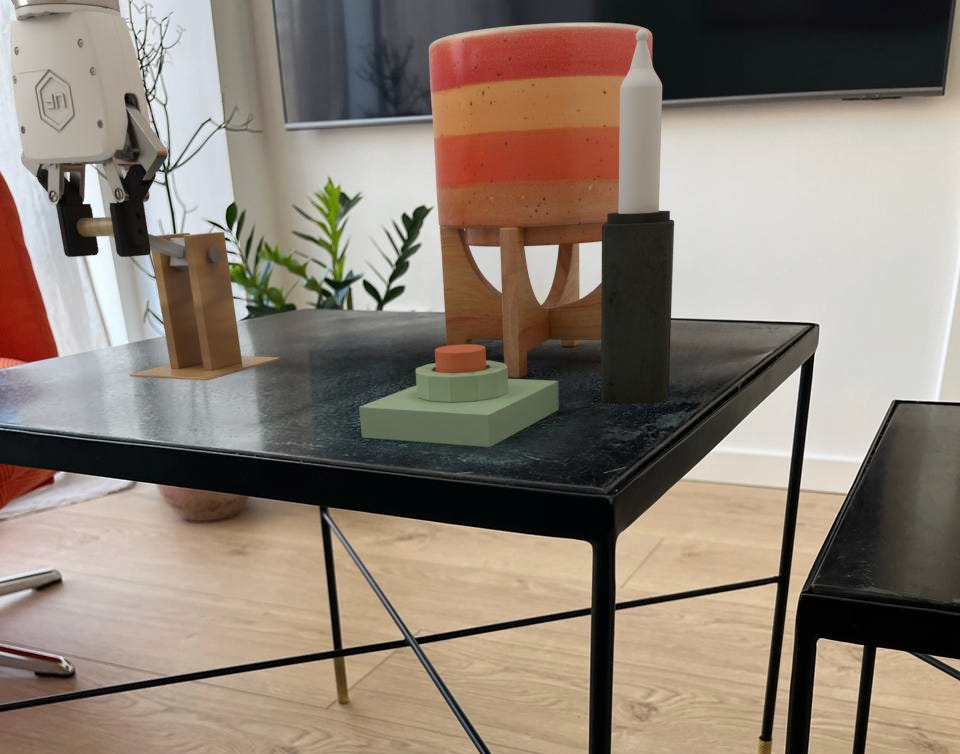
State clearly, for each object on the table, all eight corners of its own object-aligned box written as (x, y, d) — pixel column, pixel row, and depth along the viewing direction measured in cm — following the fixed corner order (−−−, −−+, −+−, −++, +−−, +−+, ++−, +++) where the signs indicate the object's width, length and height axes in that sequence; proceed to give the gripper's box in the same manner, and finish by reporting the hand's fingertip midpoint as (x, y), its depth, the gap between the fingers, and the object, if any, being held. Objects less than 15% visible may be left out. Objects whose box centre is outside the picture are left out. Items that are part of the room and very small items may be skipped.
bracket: (207, 391, 90) (183, 237, 85) (131, 387, 94) (104, 239, 89) (281, 370, 99) (264, 229, 94) (209, 366, 103) (189, 231, 98)
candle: (605, 390, 82) (608, 36, 72) (669, 390, 81) (681, 30, 71) (599, 403, 78) (601, 27, 68) (666, 403, 77) (678, 21, 67)
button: (472, 379, 70) (471, 353, 69) (427, 376, 72) (425, 351, 71) (494, 369, 73) (494, 344, 72) (450, 368, 75) (449, 343, 74)
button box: (489, 447, 67) (487, 386, 65) (361, 438, 71) (356, 380, 69) (558, 410, 77) (558, 356, 75) (442, 403, 81) (439, 352, 79)
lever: (121, 239, 82) (122, 207, 81) (76, 240, 84) (76, 209, 83) (221, 272, 92) (222, 244, 92) (179, 272, 94) (180, 245, 94)
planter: (623, 381, 86) (628, 12, 75) (409, 376, 93) (384, 37, 81) (667, 344, 103) (677, 39, 92) (484, 342, 109) (472, 58, 98)
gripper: (-53, 3, 77) (-1, 258, 84) (112, -23, 70) (153, 258, 77) (27, 16, 83) (69, 253, 90) (187, -7, 76) (219, 253, 83)
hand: (107, 253), depth 84 cm, fingers closed on lever, 5 cm apart
